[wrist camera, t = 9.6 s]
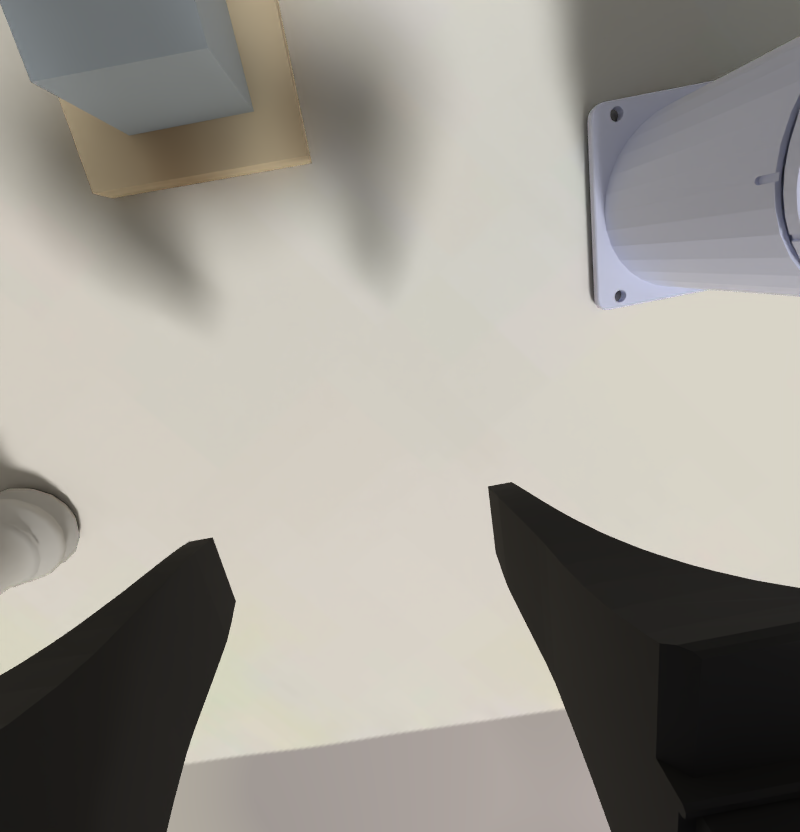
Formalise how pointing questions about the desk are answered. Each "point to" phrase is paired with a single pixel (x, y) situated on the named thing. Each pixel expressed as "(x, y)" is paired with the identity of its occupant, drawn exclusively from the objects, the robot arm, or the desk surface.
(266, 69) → the maple block
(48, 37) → the slate block
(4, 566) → the rook chess piece
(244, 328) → the desk surface
